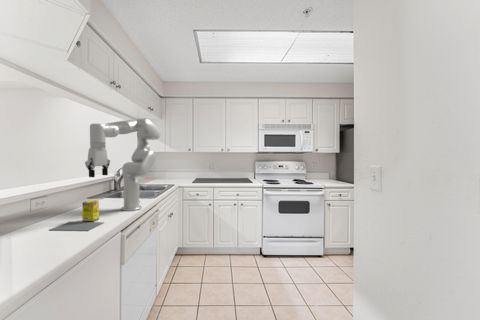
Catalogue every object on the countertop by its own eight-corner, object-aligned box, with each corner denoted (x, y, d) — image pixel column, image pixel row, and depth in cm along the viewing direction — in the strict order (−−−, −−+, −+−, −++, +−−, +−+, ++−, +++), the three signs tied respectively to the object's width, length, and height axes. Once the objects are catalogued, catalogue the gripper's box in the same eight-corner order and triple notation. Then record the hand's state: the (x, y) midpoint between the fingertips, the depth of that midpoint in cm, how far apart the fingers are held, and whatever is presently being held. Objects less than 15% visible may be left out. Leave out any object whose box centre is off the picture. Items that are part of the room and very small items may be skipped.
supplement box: (93, 222, 133) (93, 202, 132) (82, 222, 132) (82, 202, 132) (99, 219, 138) (99, 200, 138) (88, 219, 138) (88, 200, 138)
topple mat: (69, 222, 132) (69, 221, 132) (104, 222, 132) (104, 222, 132) (48, 230, 118) (48, 229, 118) (87, 231, 118) (87, 230, 118)
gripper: (103, 145, 147) (104, 174, 148) (79, 145, 130) (80, 177, 131) (114, 146, 145) (115, 174, 146) (91, 145, 128) (92, 178, 129)
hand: (98, 176), depth 138 cm, fingers open, 9 cm apart
